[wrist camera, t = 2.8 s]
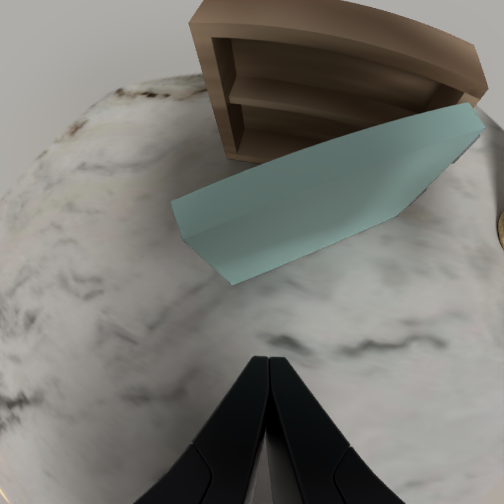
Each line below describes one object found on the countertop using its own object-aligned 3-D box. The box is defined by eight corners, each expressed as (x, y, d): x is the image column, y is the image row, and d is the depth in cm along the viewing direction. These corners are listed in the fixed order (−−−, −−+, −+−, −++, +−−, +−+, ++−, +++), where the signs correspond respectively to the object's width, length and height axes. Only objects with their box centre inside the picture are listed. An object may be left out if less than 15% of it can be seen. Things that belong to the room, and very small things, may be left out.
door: (408, 210, 19) (500, 123, 9) (232, 285, 19) (182, 240, 8) (400, 194, 19) (483, 98, 9) (225, 267, 19) (170, 202, 9)
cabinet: (399, 194, 20) (488, 88, 8) (226, 158, 21) (188, 23, 10) (400, 157, 20) (473, 45, 9) (237, 123, 21) (211, -12, 10)
